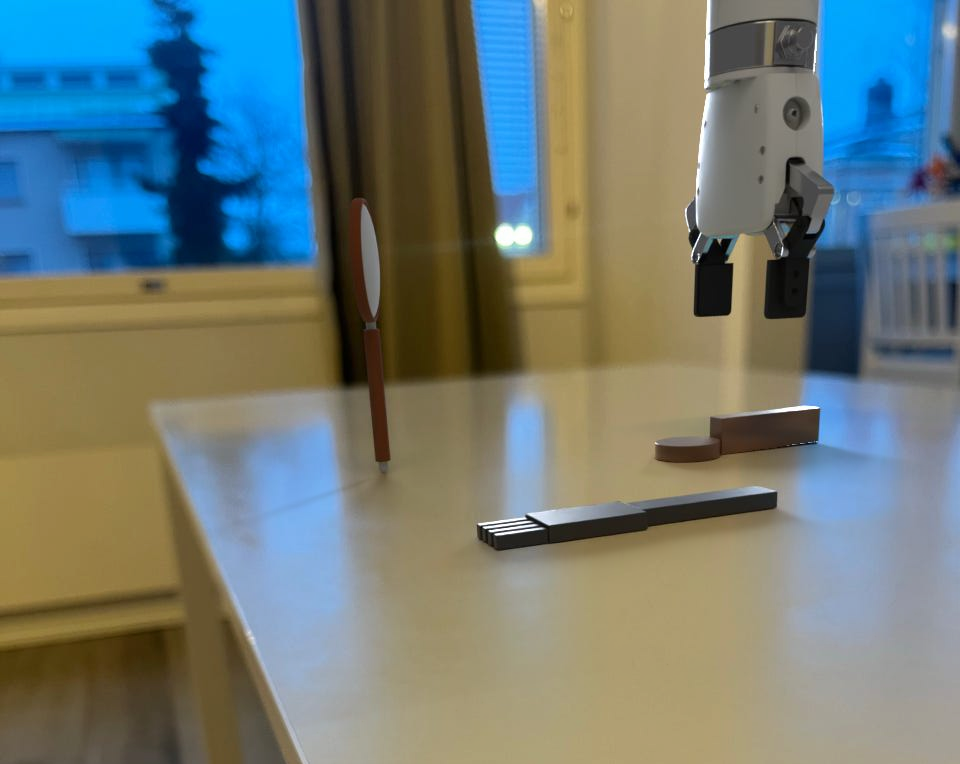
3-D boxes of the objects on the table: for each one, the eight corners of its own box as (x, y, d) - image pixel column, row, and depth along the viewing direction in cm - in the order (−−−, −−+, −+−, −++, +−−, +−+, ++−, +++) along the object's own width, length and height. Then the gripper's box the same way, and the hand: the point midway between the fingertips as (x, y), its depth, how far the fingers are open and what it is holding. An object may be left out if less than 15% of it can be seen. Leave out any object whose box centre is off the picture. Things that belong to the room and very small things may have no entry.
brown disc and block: (793, 438, 83) (794, 404, 82) (831, 445, 78) (833, 409, 78) (643, 455, 79) (643, 420, 78) (675, 464, 74) (675, 426, 74)
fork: (749, 499, 61) (750, 483, 61) (784, 509, 58) (785, 493, 58) (476, 537, 56) (475, 519, 56) (498, 550, 53) (497, 532, 53)
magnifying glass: (387, 483, 74) (361, 191, 67) (364, 484, 74) (336, 193, 67) (401, 464, 82) (379, 202, 76) (381, 464, 82) (357, 203, 76)
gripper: (887, 36, 63) (862, 316, 69) (737, 87, 79) (727, 313, 85) (787, 31, 61) (770, 322, 67) (653, 85, 77) (648, 317, 82)
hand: (746, 317), depth 76 cm, fingers open, 9 cm apart
